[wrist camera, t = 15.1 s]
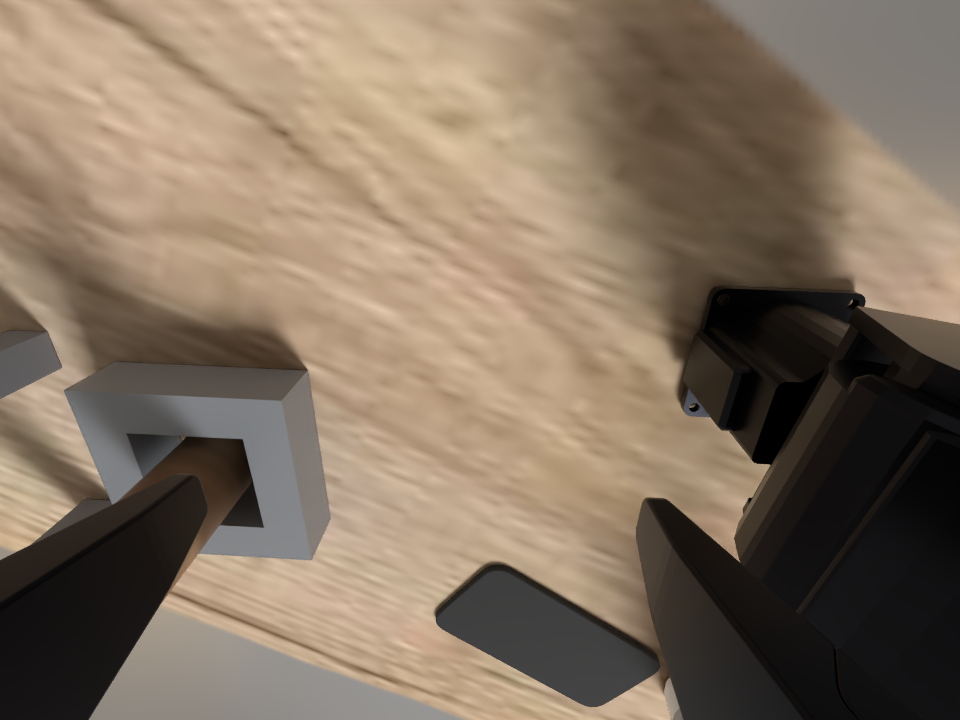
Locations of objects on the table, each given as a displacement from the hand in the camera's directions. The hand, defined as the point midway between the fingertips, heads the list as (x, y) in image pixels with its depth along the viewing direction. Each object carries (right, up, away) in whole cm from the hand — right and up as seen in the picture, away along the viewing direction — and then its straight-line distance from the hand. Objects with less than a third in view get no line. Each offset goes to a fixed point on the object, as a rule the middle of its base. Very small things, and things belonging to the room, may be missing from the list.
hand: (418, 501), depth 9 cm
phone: (+6, -16, +22) cm, 28 cm away
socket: (-13, -2, +16) cm, 20 cm away
